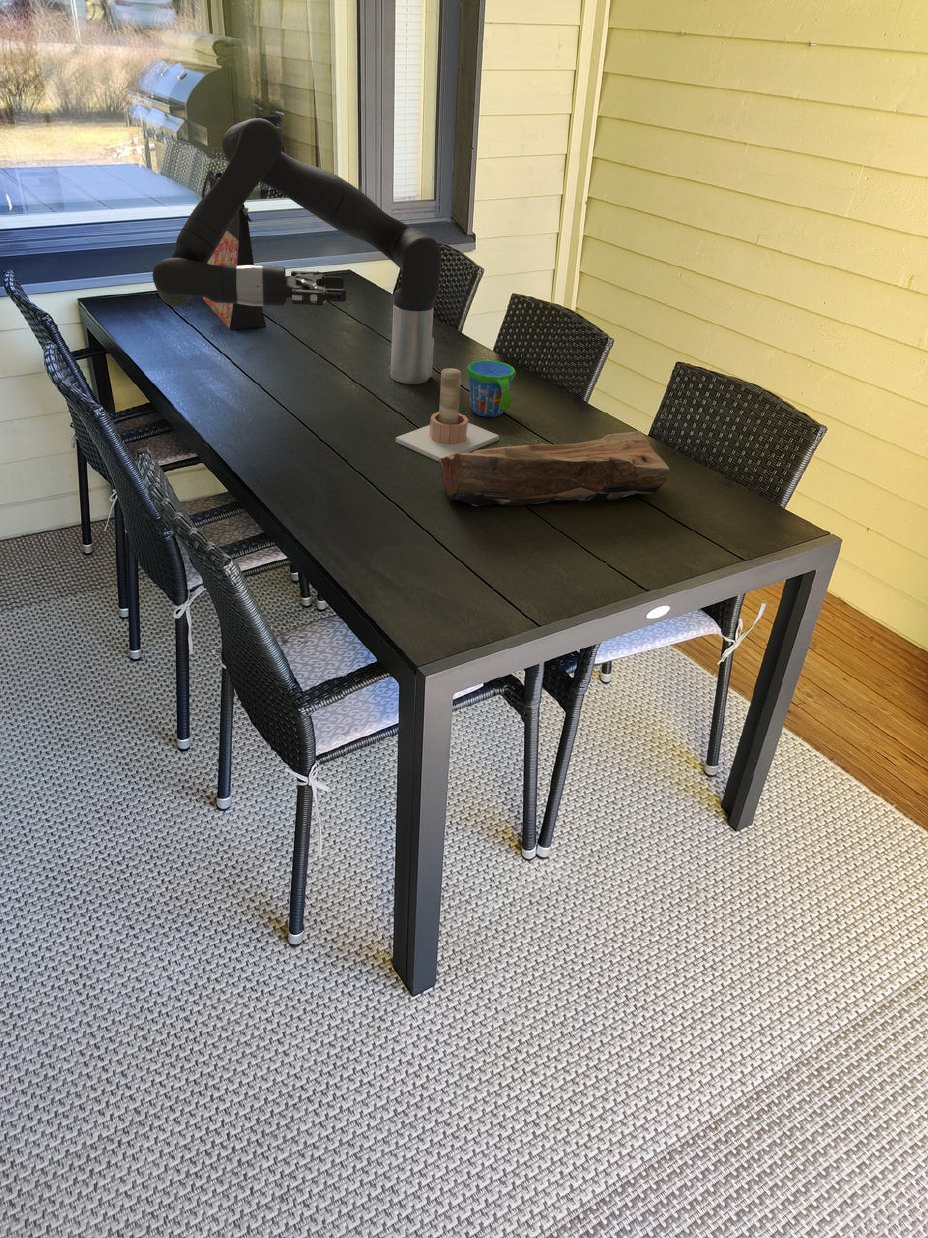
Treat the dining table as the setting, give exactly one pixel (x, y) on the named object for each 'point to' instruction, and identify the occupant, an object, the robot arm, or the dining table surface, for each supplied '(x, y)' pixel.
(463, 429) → the ring
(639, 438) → the log
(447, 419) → the ash dowel
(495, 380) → the snack cup
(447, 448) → the stand board
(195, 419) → the dining table surface
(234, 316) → the gift bag
